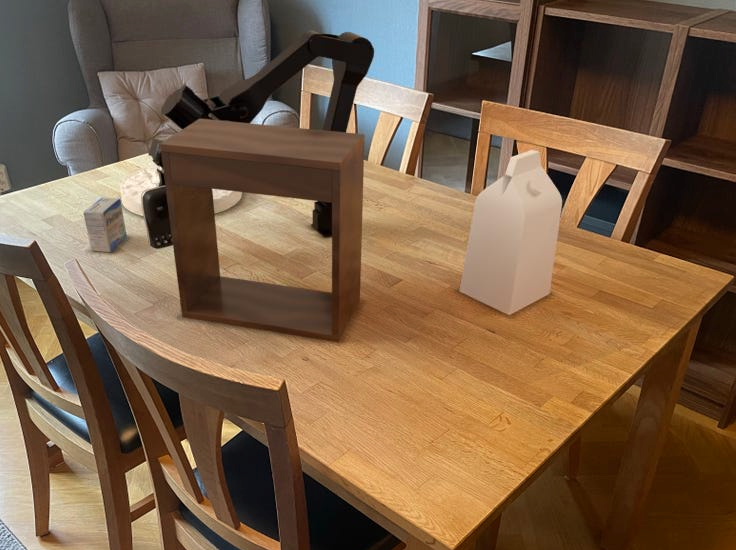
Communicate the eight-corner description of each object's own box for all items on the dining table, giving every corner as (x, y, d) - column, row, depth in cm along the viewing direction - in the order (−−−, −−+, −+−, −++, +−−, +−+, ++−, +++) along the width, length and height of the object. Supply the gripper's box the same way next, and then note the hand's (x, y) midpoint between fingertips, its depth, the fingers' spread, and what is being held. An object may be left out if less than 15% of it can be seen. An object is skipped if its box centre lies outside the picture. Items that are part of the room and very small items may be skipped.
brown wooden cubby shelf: (214, 280, 140) (199, 118, 123) (359, 302, 133) (364, 134, 116) (182, 316, 129) (159, 143, 112) (338, 342, 122) (340, 162, 105)
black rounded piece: (155, 252, 142) (146, 196, 136) (147, 246, 145) (138, 190, 138) (188, 243, 145) (181, 187, 139) (179, 237, 148) (172, 182, 142)
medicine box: (110, 253, 149) (103, 213, 144) (90, 251, 150) (82, 211, 145) (127, 237, 156) (121, 198, 151) (107, 235, 156) (100, 196, 152)
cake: (96, 208, 168) (89, 167, 163) (165, 169, 190) (160, 132, 184) (202, 228, 160) (198, 186, 154) (262, 185, 181) (260, 146, 176)
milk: (500, 271, 144) (519, 138, 129) (549, 293, 136) (576, 155, 122) (459, 291, 137) (474, 153, 122) (509, 315, 130) (531, 171, 115)
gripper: (156, 109, 140) (108, 176, 142) (189, 136, 127) (136, 209, 129) (199, 144, 148) (154, 206, 150) (235, 172, 134) (184, 241, 136)
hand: (156, 214), depth 141 cm, fingers closed on black rounded piece, 4 cm apart
